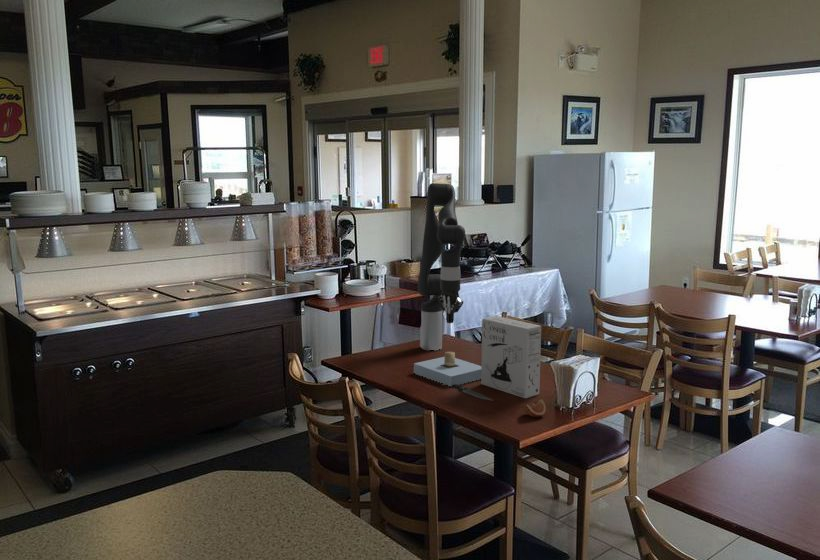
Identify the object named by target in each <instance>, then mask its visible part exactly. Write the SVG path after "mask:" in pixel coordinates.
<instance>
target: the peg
mask: <svg viewBox="0 0 820 560" xmlns="http://www.w3.org/2000/svg"><path fill="white" fill-rule="evenodd" d="M443 357H444V367H446V368H454V367H455V358H456V352H455V351H445V352H444V356H443Z"/></svg>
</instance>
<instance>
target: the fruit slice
mask: <svg viewBox="0 0 820 560" xmlns="http://www.w3.org/2000/svg"><path fill="white" fill-rule="evenodd" d="M521 410H523V412H524V413H525V414H526V415H528V416H530V417H533V418H539V417H541V416H543V415H544V414H546V411H547V406H546V403H545V400H544V399H542V398H541V399H539V400H534V401H532V402H530V403H528V404H524V406H523V407H521Z"/></svg>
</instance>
